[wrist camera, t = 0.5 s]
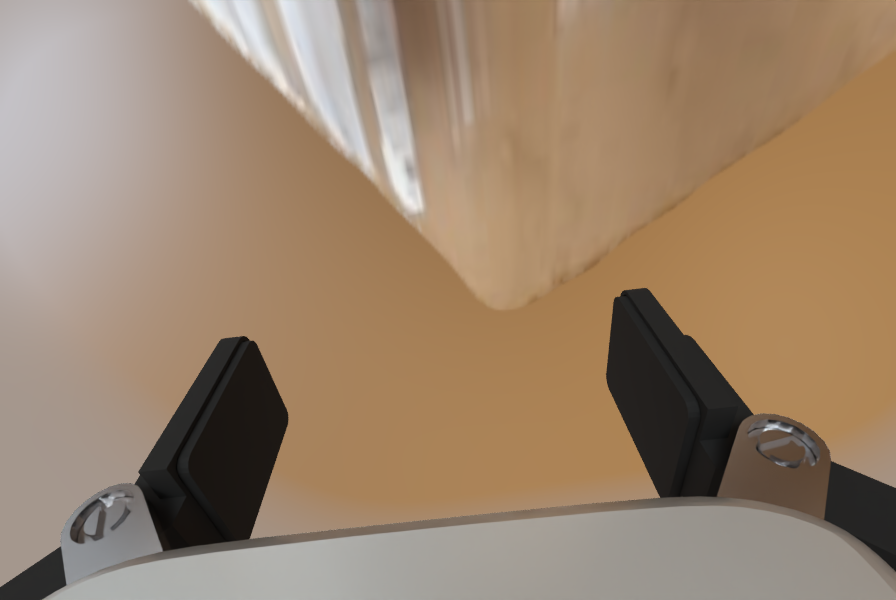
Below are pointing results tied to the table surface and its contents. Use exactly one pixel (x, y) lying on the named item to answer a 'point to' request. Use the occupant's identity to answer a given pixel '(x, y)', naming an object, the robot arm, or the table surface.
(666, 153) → the table surface
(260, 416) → the robot arm
